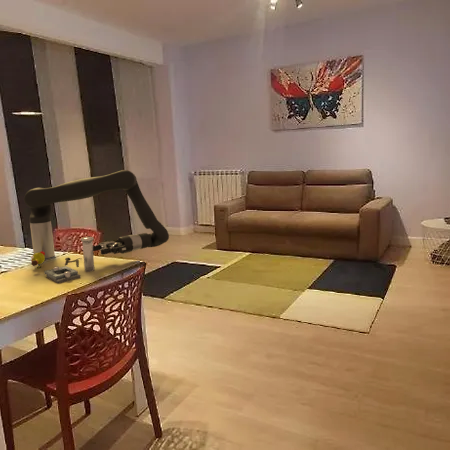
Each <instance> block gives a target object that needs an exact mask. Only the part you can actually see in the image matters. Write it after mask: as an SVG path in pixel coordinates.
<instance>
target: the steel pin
mask: <svg viewBox="0 0 450 450" xmlns="http://www.w3.org/2000/svg"><path fill="white" fill-rule="evenodd" d="M94 240H95V239H94V236H84V237H81V238H80V241H81V242H82V243H81V244H82V253H83V254H82V255H83V267H84V272H86V273H87V272H94V271H95V257H94V251H93V246H94V244H93V242H94Z"/></svg>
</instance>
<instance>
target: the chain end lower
mask: <svg viewBox="0 0 450 450" xmlns="http://www.w3.org/2000/svg"><path fill="white" fill-rule="evenodd" d="M63 273H64V274H65V277H64V278H60V279H54V278H52V277H50V276H48V275H46V278H47V279H49V280H50V281H52V282H55V283H57V284H62V283H65V282H69V281H74V280H76V279H81V274H79V273H78V274H76V275H72V276H71V274H70V271H67V272H62V273H57V274H63Z"/></svg>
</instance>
